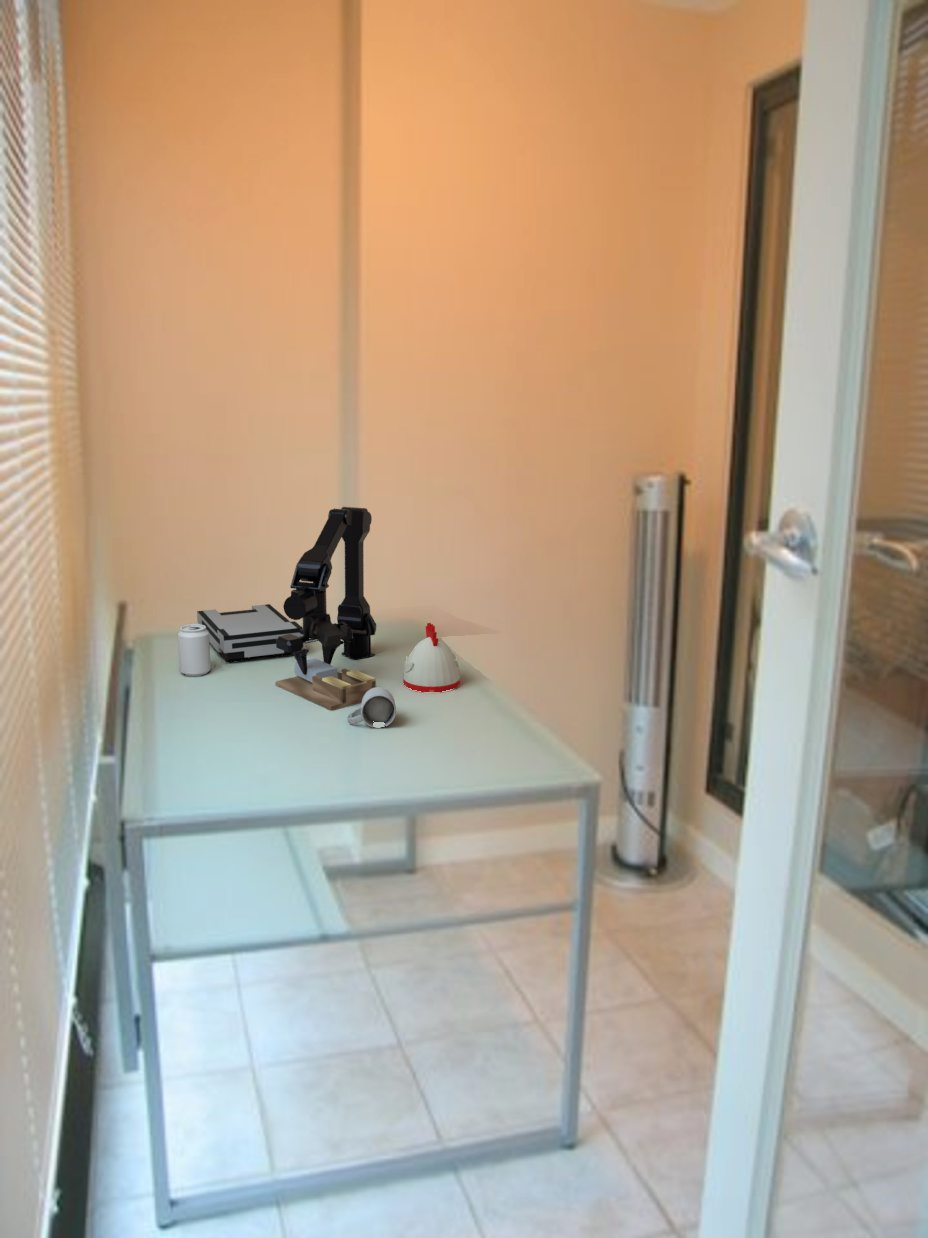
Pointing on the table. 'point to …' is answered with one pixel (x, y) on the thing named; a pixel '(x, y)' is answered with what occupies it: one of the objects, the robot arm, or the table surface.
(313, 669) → the blue-grey rectangular block
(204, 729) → the table surface
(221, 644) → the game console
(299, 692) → the board
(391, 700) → the ceramic mug
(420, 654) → the kitchen timer
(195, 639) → the can
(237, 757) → the table surface
